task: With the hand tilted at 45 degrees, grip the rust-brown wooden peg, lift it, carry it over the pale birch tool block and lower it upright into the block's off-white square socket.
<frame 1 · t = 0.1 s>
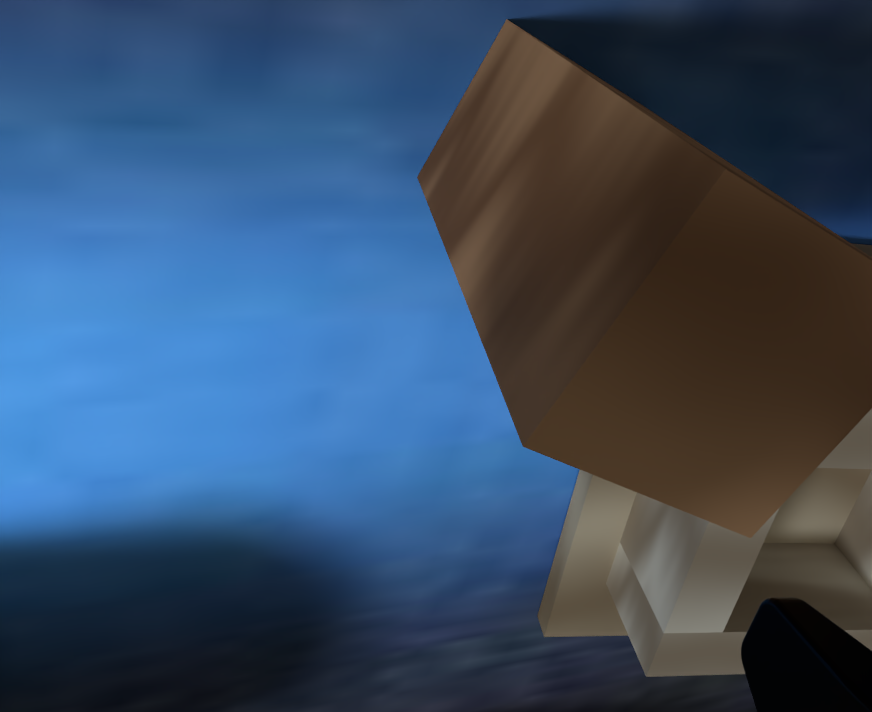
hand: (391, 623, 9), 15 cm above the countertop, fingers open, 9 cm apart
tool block: (772, 454, 29), on the countertop
wooden peg: (531, 142, 22), on the countertop
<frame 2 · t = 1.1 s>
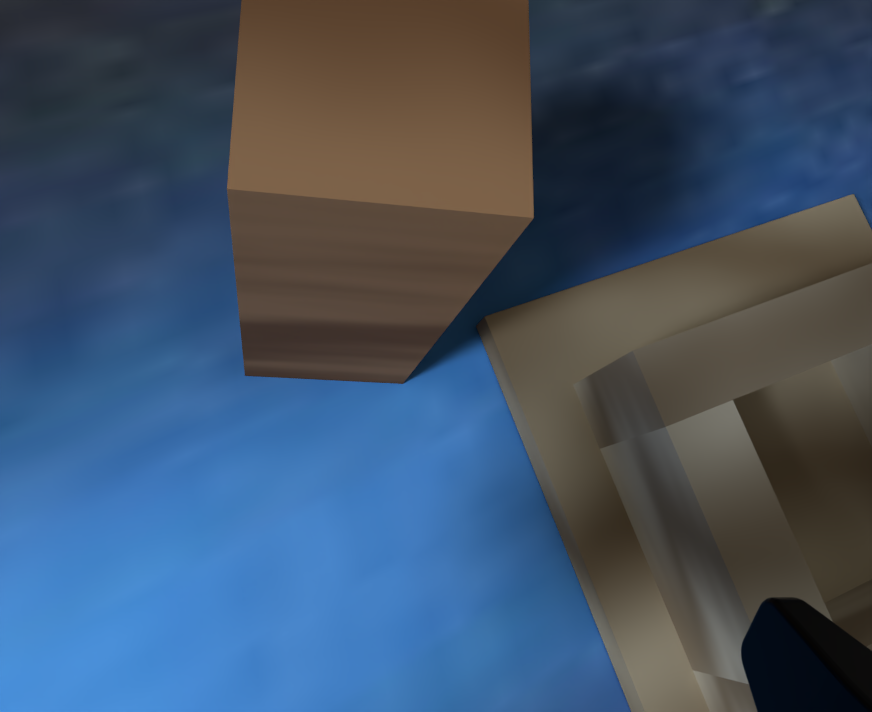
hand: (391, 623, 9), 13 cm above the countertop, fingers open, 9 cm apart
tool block: (772, 493, 25), on the countertop
wooden peg: (328, 305, 24), on the countertop
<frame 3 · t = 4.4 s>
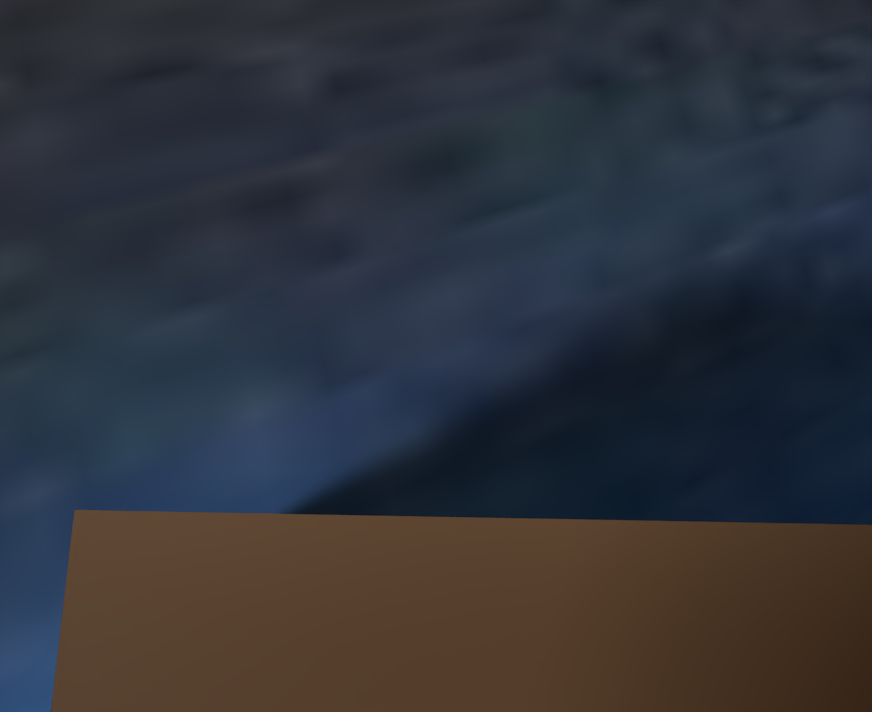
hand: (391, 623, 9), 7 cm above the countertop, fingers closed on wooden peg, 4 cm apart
wooden peg: (336, 678, 15), on the countertop, touching gripper
when the fingers open (9 cm above the countertop, at t = 8.6 s): wooden peg drops 1 cm, resting on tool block.
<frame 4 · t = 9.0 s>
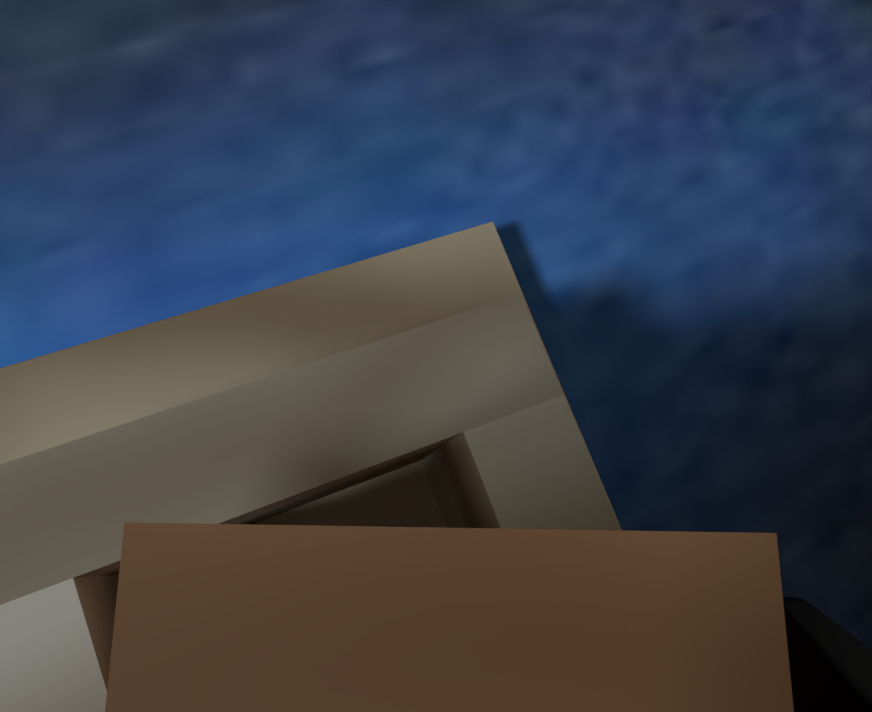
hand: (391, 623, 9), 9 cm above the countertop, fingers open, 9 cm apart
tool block: (327, 661, 17), on the countertop
wooden peg: (330, 666, 16), point 1 cm above the countertop, touching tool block
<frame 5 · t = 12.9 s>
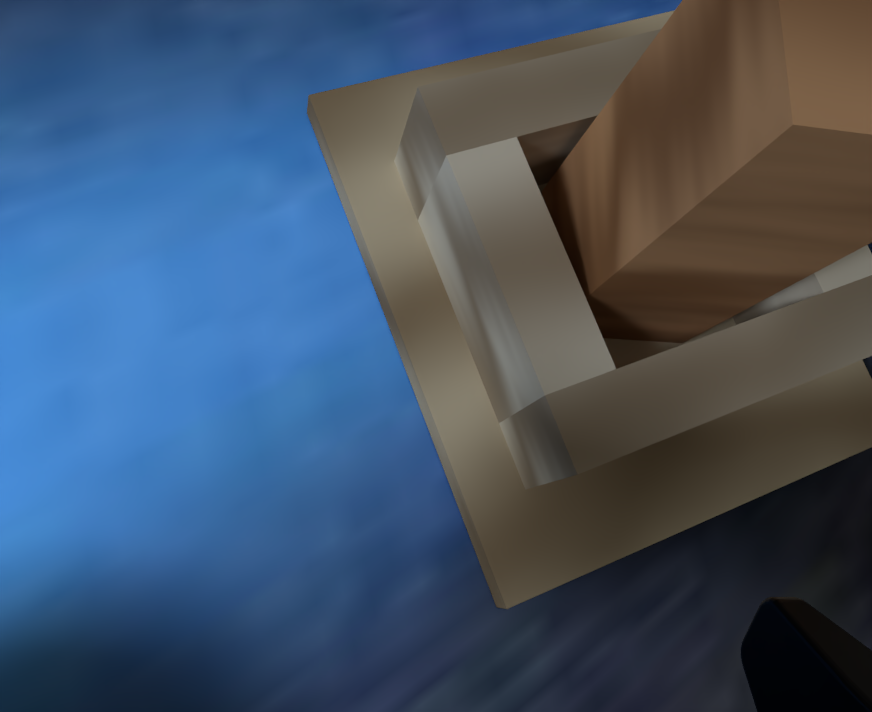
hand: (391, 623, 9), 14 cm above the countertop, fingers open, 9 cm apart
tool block: (598, 280, 26), on the countertop
wooden peg: (610, 268, 25), point 1 cm above the countertop, touching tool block
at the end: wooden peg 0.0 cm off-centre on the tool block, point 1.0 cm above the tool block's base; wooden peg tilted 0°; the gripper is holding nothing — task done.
